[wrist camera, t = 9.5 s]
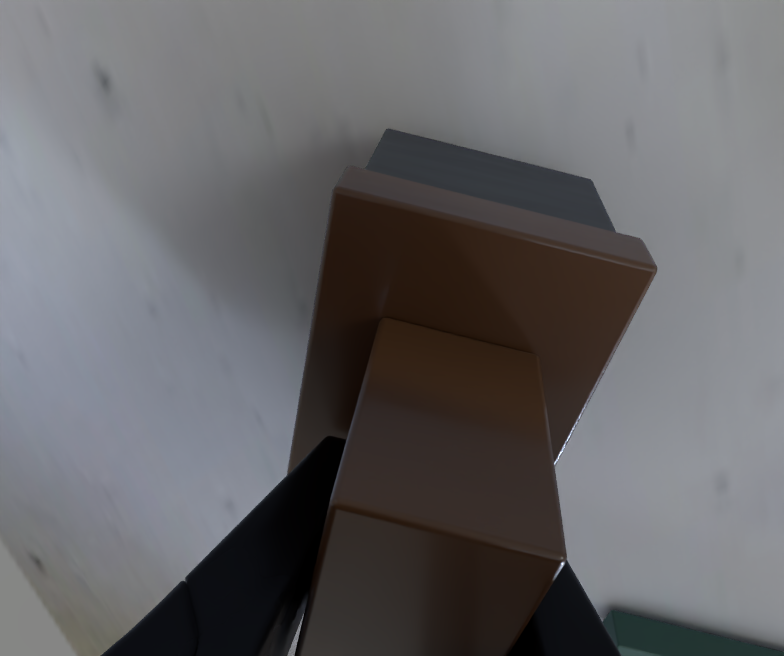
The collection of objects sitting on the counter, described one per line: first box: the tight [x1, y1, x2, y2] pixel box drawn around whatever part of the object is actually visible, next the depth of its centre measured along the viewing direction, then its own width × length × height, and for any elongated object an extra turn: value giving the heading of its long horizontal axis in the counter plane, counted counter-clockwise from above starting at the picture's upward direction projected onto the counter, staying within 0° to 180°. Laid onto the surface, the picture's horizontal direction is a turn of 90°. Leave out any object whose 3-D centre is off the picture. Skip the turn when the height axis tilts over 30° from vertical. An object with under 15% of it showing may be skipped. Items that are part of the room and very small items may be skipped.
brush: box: [287, 129, 657, 656], centre depth 10 cm, size 8×4×8 cm, turn 168°
